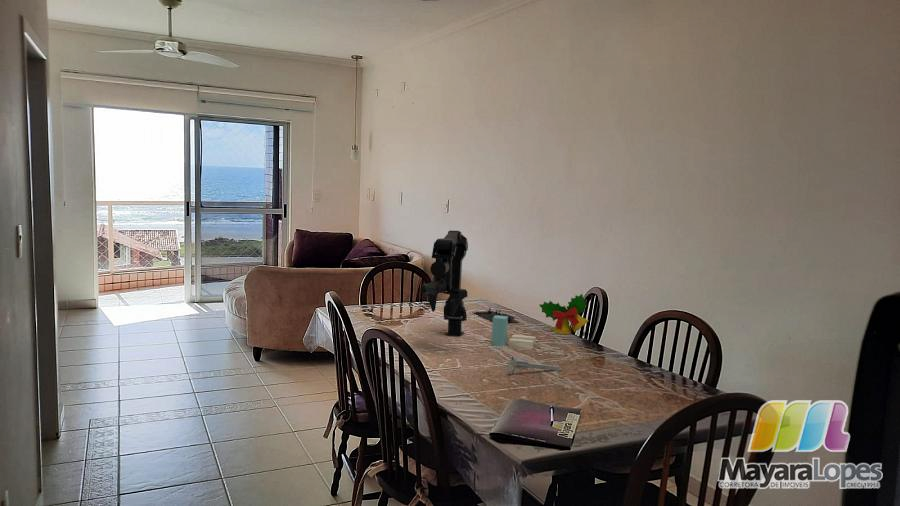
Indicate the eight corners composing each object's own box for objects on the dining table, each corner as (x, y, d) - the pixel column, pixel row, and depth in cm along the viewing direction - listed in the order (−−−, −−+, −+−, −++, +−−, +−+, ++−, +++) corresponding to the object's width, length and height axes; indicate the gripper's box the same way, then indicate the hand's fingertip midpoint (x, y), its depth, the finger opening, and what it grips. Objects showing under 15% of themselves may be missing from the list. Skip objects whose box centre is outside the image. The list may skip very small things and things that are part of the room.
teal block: (494, 342, 252) (495, 315, 251) (506, 343, 251) (507, 316, 249) (491, 345, 247) (492, 317, 246) (504, 346, 246) (505, 318, 245)
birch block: (513, 343, 253) (513, 334, 253) (535, 345, 250) (535, 336, 250) (508, 348, 244) (509, 339, 244) (531, 351, 242) (532, 342, 241)
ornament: (545, 342, 274) (532, 310, 270) (549, 332, 281) (537, 302, 278) (592, 333, 264) (580, 300, 260) (596, 324, 271) (584, 291, 267)
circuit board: (472, 314, 306) (472, 307, 305) (497, 312, 312) (498, 306, 311) (497, 325, 283) (497, 318, 283) (524, 323, 289) (524, 316, 289)
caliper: (508, 376, 210) (509, 357, 209) (507, 375, 211) (507, 356, 210) (562, 370, 217) (563, 352, 217) (561, 369, 218) (562, 351, 218)
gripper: (410, 272, 235) (410, 313, 237) (450, 278, 224) (449, 321, 226) (429, 268, 244) (429, 308, 246) (468, 274, 233) (467, 316, 235)
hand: (442, 313), depth 238 cm, fingers open, 9 cm apart
